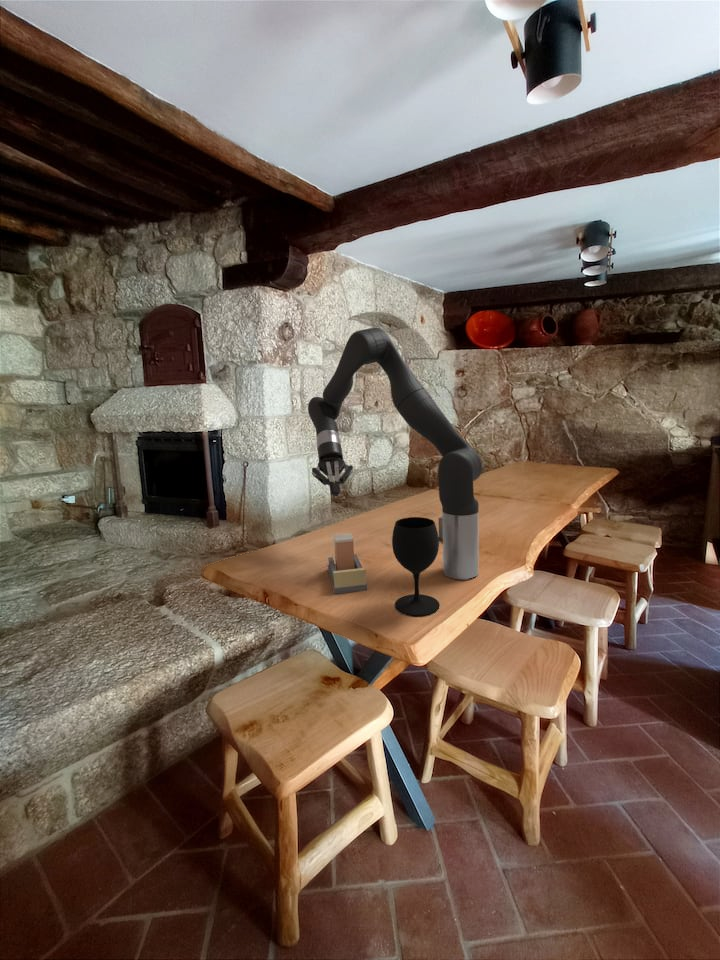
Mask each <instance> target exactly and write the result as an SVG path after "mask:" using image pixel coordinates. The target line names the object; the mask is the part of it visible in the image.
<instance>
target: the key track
mask: <svg viewBox="0 0 720 960" xmlns="http://www.w3.org/2000/svg"><path fill="white" fill-rule="evenodd" d="M354 564H355V569H349V570H340V571H337V570H336V562H335V560H334V558H333V556H331V557H328V564H327V569H328V574H329V578H330V582H331V586H332V590H333V595H336V594H345V593H352V592H362V591H368V583H367V573H366V567H363V566H362V564H361V561H360V559H359V557H358V555H357V554H354Z"/></svg>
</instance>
